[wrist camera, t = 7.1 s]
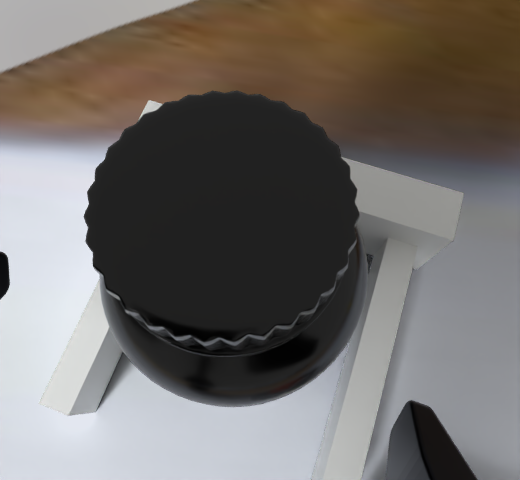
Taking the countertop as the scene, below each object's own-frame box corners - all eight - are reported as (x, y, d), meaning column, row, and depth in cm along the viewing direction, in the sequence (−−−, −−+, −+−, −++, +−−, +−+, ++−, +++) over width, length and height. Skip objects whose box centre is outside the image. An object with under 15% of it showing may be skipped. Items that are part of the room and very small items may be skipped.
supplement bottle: (252, 438, 17) (221, 539, 6) (136, 323, 18) (-73, 221, 7) (357, 309, 19) (498, 185, 7) (242, 214, 20) (209, -11, 9)
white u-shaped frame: (357, 517, 16) (384, 558, 12) (52, 394, 18) (-7, 396, 14) (426, 230, 20) (464, 193, 16) (170, 151, 21) (149, 100, 18)
